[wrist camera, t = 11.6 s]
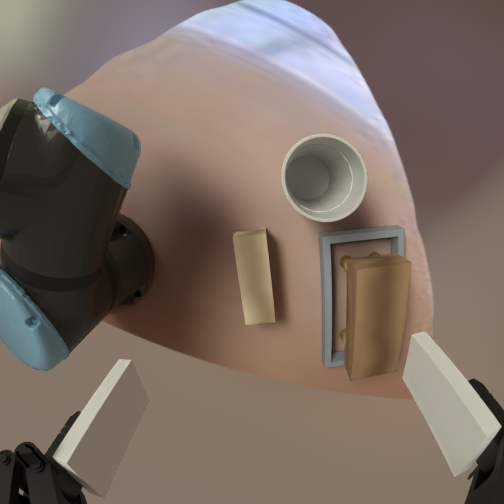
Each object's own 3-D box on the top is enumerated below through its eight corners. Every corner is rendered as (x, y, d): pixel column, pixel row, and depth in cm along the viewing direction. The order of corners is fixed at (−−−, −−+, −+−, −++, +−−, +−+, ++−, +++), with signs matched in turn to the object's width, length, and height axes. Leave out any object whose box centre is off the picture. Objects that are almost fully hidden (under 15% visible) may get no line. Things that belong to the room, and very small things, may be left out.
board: (343, 363, 36) (350, 380, 32) (346, 259, 32) (356, 270, 28) (387, 354, 35) (396, 370, 32) (396, 253, 31) (411, 262, 27)
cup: (263, 170, 34) (263, 165, 23) (312, 136, 33) (335, 118, 21) (298, 219, 36) (314, 239, 24) (346, 186, 34) (382, 191, 23)
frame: (322, 359, 42) (327, 378, 37) (318, 232, 36) (326, 241, 31) (388, 346, 41) (398, 363, 36) (396, 225, 35) (413, 232, 30)
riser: (247, 311, 40) (245, 324, 36) (235, 230, 37) (232, 237, 33) (274, 308, 39) (275, 322, 36) (265, 227, 36) (265, 233, 32)
